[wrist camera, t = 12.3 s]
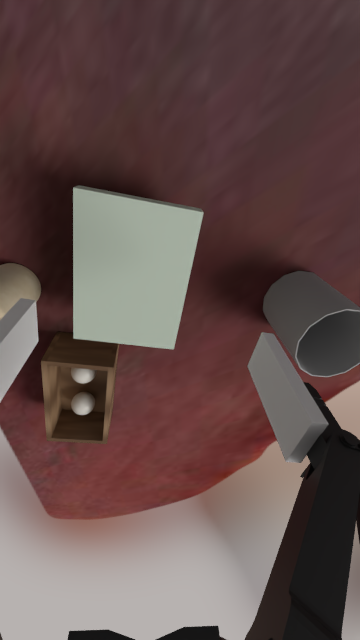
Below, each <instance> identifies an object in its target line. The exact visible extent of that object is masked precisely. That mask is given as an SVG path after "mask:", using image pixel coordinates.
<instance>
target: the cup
mask: <svg viewBox="0 0 360 640" xmlns="http://www.w3.org/2000/svg"><path fill="white" fill-rule="evenodd" d="M263 312H264V314H265V316H266V318H267V320H268V322H269V323H270V325H271V326H272V328H273V329H274V331H275V332H276V334H277V335H278V337H279V338H280V340H281V341H282V343H283V344H284V346H285V347H286V349H287V350H288V351H289V353H290V354H291V356H292V357H293V359H294V360H295V362H296V363H297V365H298V366H299V368H300V369H301V370H303V371H305V372H306V373H308V374H310V375H311V376H320V377H330V376H334V375H338V374H342V373H345V372H347V371H349V370H350V369H352V368H354V367H355V366H357V365H359V364H360V307H358V306H357V305H356V304H354V303H353V302H352V301H350V300H349V299H348V298H346V297H345V296H344V295H342V294H341V293H340V292H338V291H337V290H336V289H334V288H333V287H332V286H330V285H329V284H328V283H326V282H325V281H324V280H322V279H321V278H320V277H318V276H317V275H316V274H314V273H312V272H305V271H297V272H293V273H290V274H287V275H284V276H283V277H281V278H280V279H279V280H277V281H276V282H275V283H274V284H272V285H271V287H270V288H269V290H268V292H267V293H266V295H265V297H264V303H263Z"/></svg>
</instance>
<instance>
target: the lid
mask: <svg viewBox="0 0 360 640" xmlns="http://www.w3.org/2000/svg"><path fill="white" fill-rule="evenodd" d="M203 213H204V212H203V211H202V210H201V209H200V208H195V207H189V206H184V205H179V204H174V203H169V202H163V201H158V200H153V199H148V198H143V197H137V196H132V195H127V194H122V193H117V192H111V191H106V190H101V189H96V188H91V187H85V186H80V185H78V186H76V187H73V339H82V340H92V341H101V342H110V343H119V344H128V345H138V346H147V347H156V348H165V349H174V346H175V342H176V337H177V332H178V328H179V323H180V319H181V314H182V309H183V305H184V300H185V296H186V291H187V286H188V282H189V277H190V273H191V268H192V264H193V259H194V254H195V250H196V245H197V241H198V236H199V231H200V227H201V222H202V218H203Z"/></svg>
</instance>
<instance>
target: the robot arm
mask: <svg viewBox="0 0 360 640" xmlns="http://www.w3.org/2000/svg"><path fill="white" fill-rule="evenodd" d="M38 341H39V340H38V325H37V311H36V300H31V299H24V298H20V299H19V300H18V301H17V303H16V304H15V305H14V306H13V307H12V308H11V309H10V310H9V311H8V312H7V313H6V314H5V315H4V316H3V318H2V319H1V320H0V402H1V400H2V398H3V397H4V395H5V394H6V392H7V390H8V389H9V387H10V386H11V384H12V383H13V381H14V379H15V378H16V376H17V375H18V373H19V371H20V370H21V368H22V367H23V365H24V363H25V362H26V360H27V359H28V357H29V356H30V354H31V352H32V351H33V349H34V348H35V346H36V344H37V343H38ZM248 369H249V371H250V374H251V376H252V379H253V381H254V384H255V386H256V389H257V391H258V394H259V396H260V399H261V401H262V404H263V406H264V409H265V411H266V414H267V416H268V418H269V421H270V423H271V426H272V428H273V431H274V433H275V436H276V438H277V441H278V443H279V445H280V448H281V451H282V453H283V456H284V458H285V461H286V462H298V463H301V462H302V461H303V459H304V458H305V456H306V455H307V456H308V458H309V460H310V462H311V463H310V464H309V465H308V467H307V468H306V469H305V471H304V472H303V473H302V475H301V477H302V478H303V477H304V478H303V481H302V484H301V487H300V490H299V493H298V495H297V498H296V501H295V504H294V507H293V510H292V513H291V516H290V519H289V522H288V525H287V528H286V530H285V533H284V537H283V539H282V542H281V545H280V548H279V551H278V554H277V557H276V560H275V563H274V566H273V568H272V571H271V574H270V577H269V580H268V583H267V586H266V589H265V592H264V595H263V598H262V601H261V604H260V606H259V609H258V612H257V615H256V618H255V621H254V622H253V625H252V627H251V629H250V631H249V632H248V634H247V635H246V638H245V640H342V638H341V633H342V623H343V617H344V609H345V601H346V593H347V586H348V578H349V571H350V563H351V555H352V546H353V539H354V532H355V524H356V521H357V528H358V535H359V542H360V440H359V439H357V437H356V436H354V435H353V434H351V433H350V432H348V431H346V430H342V429H341V427H340V426H339V424H338V423H337V421H336V420H335V418H334V417H333V415H332V413H331V412H330V410H329V409H328V407H326V404H325V403H324V401H323V400H322V398H321V396H320V395H319V393H318V392H317V390H316V389H315V388H313V387H312V386H311V385H310V384H309V383H305V382H303V381H302V380H301V378H300V376H299V375H298V373H297V372H296V370H295V368H294V367H293V365H292V363H291V362H290V360H289V358H288V357H287V355H286V354H285V352H284V350H283V349H282V347H281V345H280V344H279V342H278V341H277V339H276V337H275V336H274V334H271V333H264V332H262V333H261V336H260V338H259V340H258V343H257V345H256V347H255V350H254V352H253V354H252V357H251V359H250V361H249V364H248ZM0 640H2V637H1V634H0ZM68 640H135V639H132V638H129V637H127V636H124V635H121V634H118V633H115V632H113V631H110V630H86V631H69V635H68ZM156 640H226V639H224V638H222V637H220V636H219V629H218V626H202V627H183V628H181V629H179V630H176V631H174V632H172V633H170V634H167V635H165V636H163V637H161V638H159V639H156Z"/></svg>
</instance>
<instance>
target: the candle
mask: <svg viewBox="0 0 360 640" xmlns="http://www.w3.org/2000/svg"><path fill="white" fill-rule="evenodd" d="M40 294H41V284H40V282H39V280H38V278H37V276H36V275H35V274H34V273H33V272H32V271H31V270H29V269H28V268H26V267H24V266H22V265H19V264H15V263H6V264H2V265H0V320H1V319H2V318H3V316H4V315H5V314H6V313H7V312H8V311H9V310H10V309H11V308H12V307H13V306H14V305H15V304H16V303H17V301H18V300H19V299H20V298H24V299H31V300H36V302H37V300H38V299H39V297H40Z"/></svg>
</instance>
